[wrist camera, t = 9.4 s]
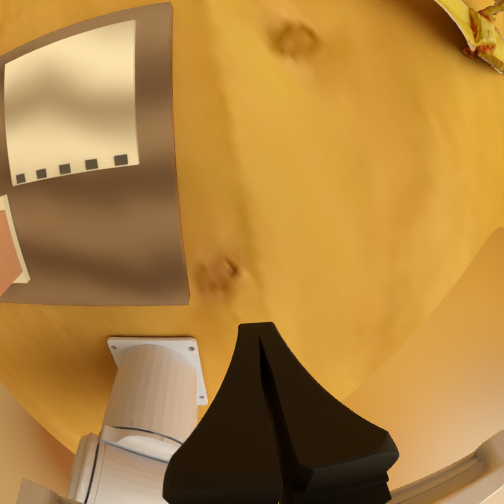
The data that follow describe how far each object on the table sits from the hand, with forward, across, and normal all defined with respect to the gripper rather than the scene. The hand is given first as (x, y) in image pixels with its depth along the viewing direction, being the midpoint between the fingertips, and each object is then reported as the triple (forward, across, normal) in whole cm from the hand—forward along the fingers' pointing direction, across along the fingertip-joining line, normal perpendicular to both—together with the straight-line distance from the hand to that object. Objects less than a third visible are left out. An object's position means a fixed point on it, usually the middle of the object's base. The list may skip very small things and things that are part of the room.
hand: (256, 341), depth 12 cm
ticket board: (+9, +16, -6) cm, 20 cm away
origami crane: (+10, -18, -18) cm, 27 cm away
